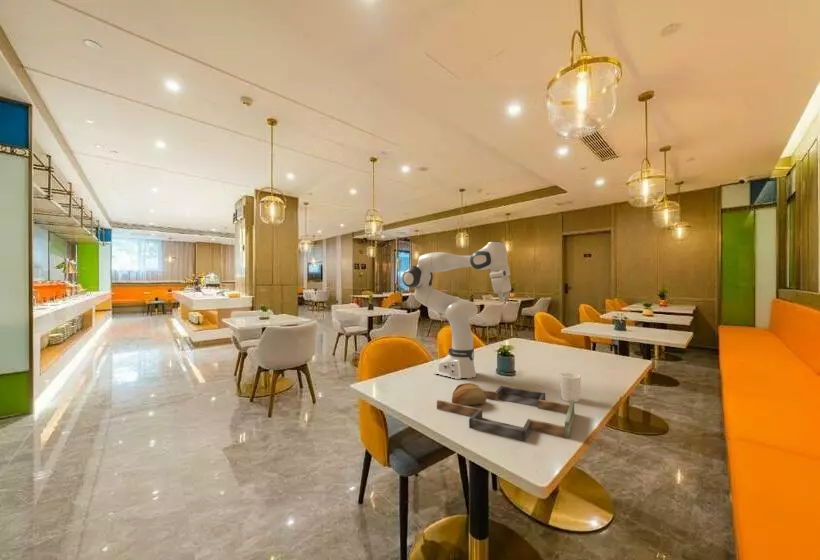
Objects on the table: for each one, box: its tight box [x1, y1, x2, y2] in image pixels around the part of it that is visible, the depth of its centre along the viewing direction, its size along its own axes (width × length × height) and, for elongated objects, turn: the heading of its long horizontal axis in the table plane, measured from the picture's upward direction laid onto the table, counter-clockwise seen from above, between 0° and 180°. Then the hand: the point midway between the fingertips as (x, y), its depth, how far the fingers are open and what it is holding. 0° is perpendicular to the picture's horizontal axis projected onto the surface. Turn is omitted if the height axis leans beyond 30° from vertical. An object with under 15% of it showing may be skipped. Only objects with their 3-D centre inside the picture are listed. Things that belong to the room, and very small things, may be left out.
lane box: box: [436, 385, 575, 442], centre depth 122 cm, size 47×39×5 cm
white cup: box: [559, 372, 582, 403], centre depth 133 cm, size 8×8×10 cm
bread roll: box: [451, 382, 487, 406], centre depth 129 cm, size 10×15×8 cm, turn 110°
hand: (504, 301), depth 154 cm, fingers open, 8 cm apart
